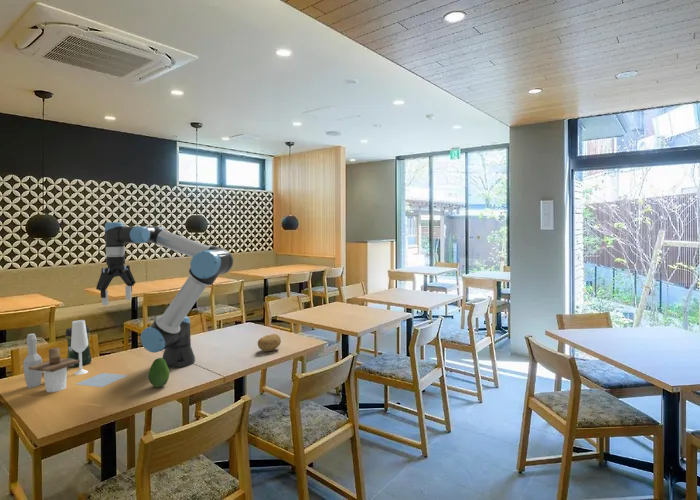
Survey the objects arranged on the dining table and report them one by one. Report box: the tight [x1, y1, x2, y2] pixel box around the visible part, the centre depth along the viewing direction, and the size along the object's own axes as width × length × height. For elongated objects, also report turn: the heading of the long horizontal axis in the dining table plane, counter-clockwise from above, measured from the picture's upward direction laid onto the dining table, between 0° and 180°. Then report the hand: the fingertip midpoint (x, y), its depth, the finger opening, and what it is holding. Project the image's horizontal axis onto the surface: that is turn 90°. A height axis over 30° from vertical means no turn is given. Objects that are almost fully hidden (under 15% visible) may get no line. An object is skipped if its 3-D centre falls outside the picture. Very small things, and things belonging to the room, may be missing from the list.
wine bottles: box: [65, 325, 92, 368], centre depth 203 cm, size 10×8×19 cm
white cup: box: [42, 367, 68, 393], centre depth 172 cm, size 8×8×10 cm
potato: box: [257, 333, 282, 352], centre depth 223 cm, size 10×14×8 cm
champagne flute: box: [71, 319, 89, 376], centre depth 190 cm, size 7×7×24 cm
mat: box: [76, 372, 128, 388], centre depth 182 cm, size 14×14×1 cm
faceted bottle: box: [22, 333, 43, 389], centre depth 176 cm, size 6×6×22 cm
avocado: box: [147, 357, 170, 388], centre depth 174 cm, size 8×8×12 cm
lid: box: [29, 347, 80, 372], centre depth 171 cm, size 12×12×7 cm
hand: (117, 302), depth 193 cm, fingers open, 13 cm apart
